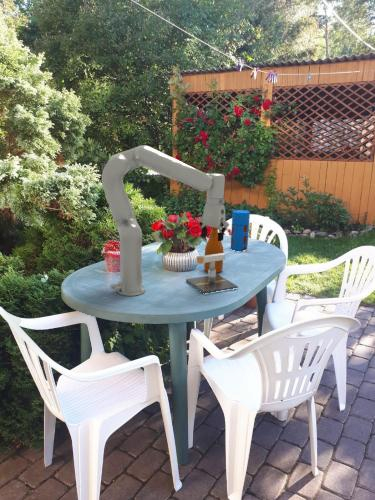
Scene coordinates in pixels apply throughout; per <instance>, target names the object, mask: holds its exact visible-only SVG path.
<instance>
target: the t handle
mask: <svg viewBox="0 0 375 500" xmlns="http://www.w3.org/2000/svg"><path fill="white" fill-rule="evenodd" d="M219 260H223V261H225V260H226V253H224V252H223V253H220V254H213V255H206V256H205V255H198V256H196V263H197V264H199V265H201V264H204V263H207V262H210V269H211V270H214V269H215V261H219Z"/></svg>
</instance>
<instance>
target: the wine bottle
mask: <svg viewBox="0 0 375 500" xmlns="http://www.w3.org/2000/svg"><path fill="white" fill-rule="evenodd" d="M211 228H212V229H211V233H209V237H208V240H207V242H206V244H205V247H204V256H206V255H213V254H220V253H224V246H223V242H222V241H218V233H219V230H218V228H215V227H211ZM223 263H224V260H219V261H215V269H216V274H219V273H220V272H222V271H223ZM203 264H204V266H203V267H204V271H205V272H206V273H208V269H210V262H207V263H203Z"/></svg>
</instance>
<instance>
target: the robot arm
mask: <svg viewBox="0 0 375 500" xmlns="http://www.w3.org/2000/svg"><path fill="white" fill-rule="evenodd" d="M141 167H144V168H146V169H148V170H150V171H153V172H155V173H157V174H159V175H162V176H163V177H166V178H168V179H171V180H174V181H177V182H180V183H182V184H185V185H187V186H189V187H190V188H193V189H195V190H198V191H199V192H206V200H205V204H204V207H203V213H202V216H200V217H198V218H197V219H198V224H199V226H200V228H201V238H207V236H208V228H207V227H211V228H213V227H215V228H218V241H221V242H222V241H224V234H225V232H226V231H227V230H228V228H229V226H230V224H229V222H228V221H227V220H226V208H225V205H224V204H225V202H226V201H225V200H224V196H225V195H224V194H225V184H226V183H225V180H226V177H225V175H224V174H223V173H216V172H215V173H213V172H211V173H206V172H203V171H201V170H199V169H197V168H194V167H192V166H190V165H188V164H186V163H184V162H183V161H180V159H177V158H175V157H173V156H170V155H168V154H166V153H165V152H162V151H160V150H158V149H155V148H153V147H151V146H149V145H146V144H145V145H144V144H142V145H139V146H136V147H133V148H131V149H127V150H125V151H121V152H118V153H115V154H113V155H112V156H110V157H109V159H108V161H107V163H106V164H105V166H104V167H103V171H102V173H101V186H102V189H103V192H104V194H105V198H106V200H107V203H108V206H109V211H110V214H111V216H112V219H113V222H114V224H115V226H116V230H117V232H118V234H119V235H118V236H119V265H120V266H119V269H120V280H118V283H116V284H115V283H113V284H110V285H109V288H110V290H113V289H114V290H115V291H116V290H117V293H118V294H119V295H121V296H129V297H132V296H138V295H139V296H140V295H143V294H144V293H145V292H146V286H144V285H143V272H142V271H143V255H142V251H143V250H142V248H143V247H142V246H143V232H142V227H141V226H140V225H139V224H138V221H137V219H136V215H135V212H134V211H133V204H132V203H131V200H130V199H129V196H128V194H127V191H126V188H125V184H124V177H125V175H126V174H127V173H128V172H129V171H132V170H135V169H138V168H141Z"/></svg>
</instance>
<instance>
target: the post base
mask: <svg viewBox="0 0 375 500" xmlns="http://www.w3.org/2000/svg"><path fill="white" fill-rule="evenodd" d="M185 283H186V284H188V283H189V284H188V285H190V286H191V285H192V286H193V287H192V286H191V287H192V288H194V287H195V288H196V289H198V290H199V291H201V292H202V293H204V294H205V293H211V292H216V291H221V290H227V289H233V288H238V289H239V286H238V285H236V284H235V283H233V282H231V281H230V280H228V279H226V278H225V277H223V276H221V275H220V274H217V273H216V269H214V270H211V269H208V272H207V275H205V276H199V277H192V278H186V279H185ZM195 288H194V289H195ZM196 289H195V290H196ZM198 290H197V291H198ZM199 291H198V292H199ZM202 293H201V294H202Z"/></svg>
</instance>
